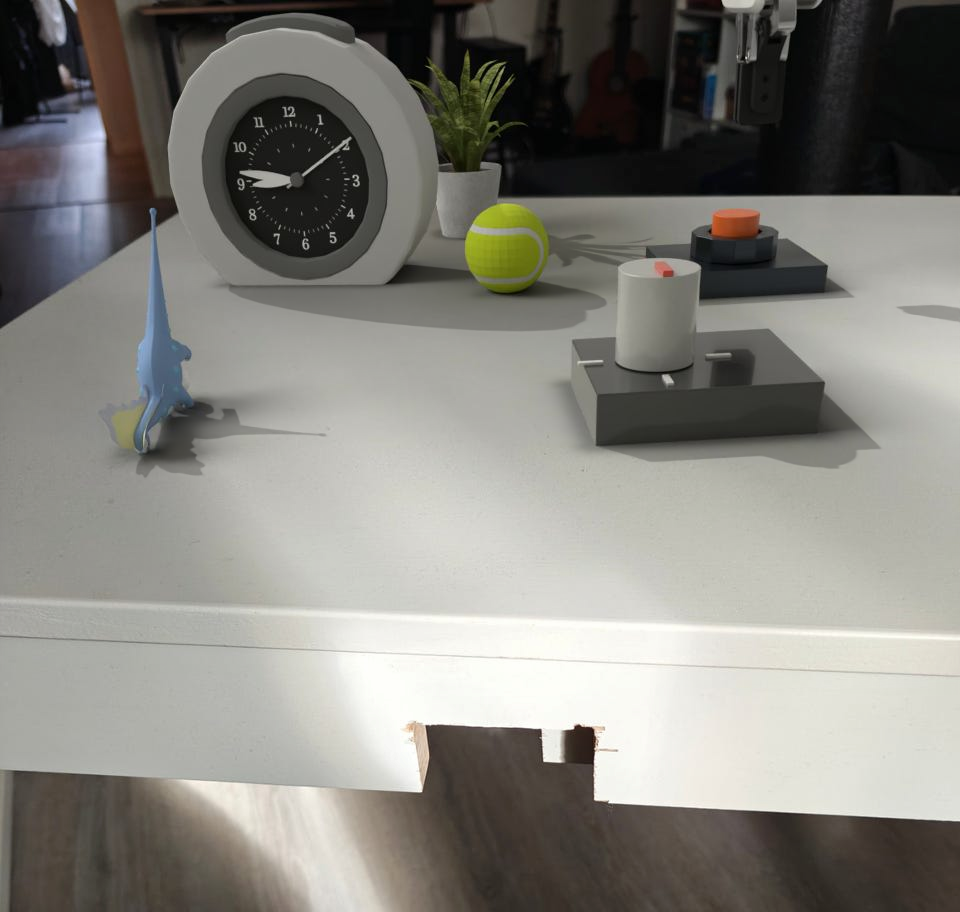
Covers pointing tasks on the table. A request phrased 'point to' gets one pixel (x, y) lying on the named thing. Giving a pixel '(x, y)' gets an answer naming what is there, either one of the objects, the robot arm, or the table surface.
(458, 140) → the house plant
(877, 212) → the table surface
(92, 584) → the table surface
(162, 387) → the dinosaur figurine
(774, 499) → the table surface
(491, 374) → the table surface
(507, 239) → the tennis ball
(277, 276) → the alarm clock
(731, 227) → the button
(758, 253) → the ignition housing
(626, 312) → the hob knob
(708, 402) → the dark grey knob base
